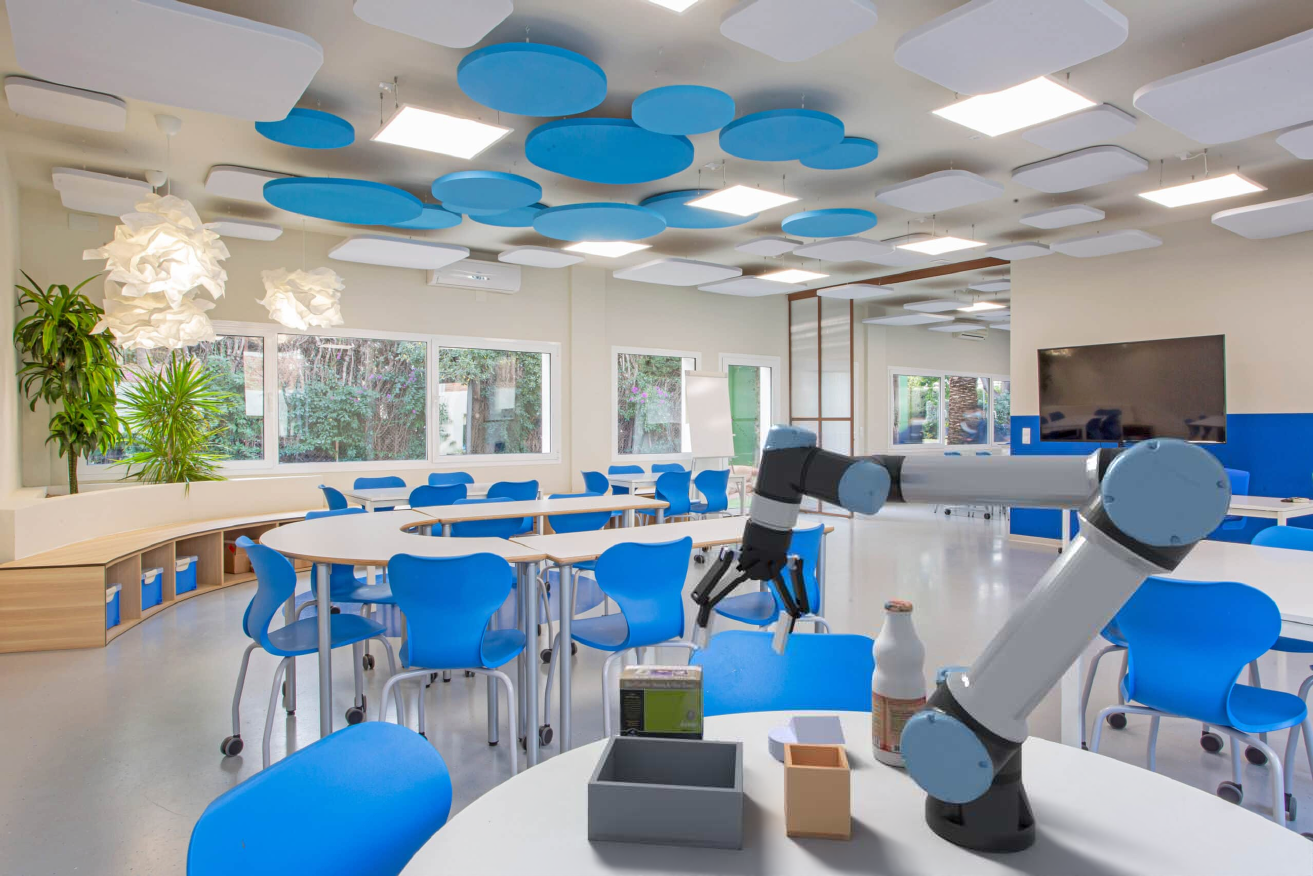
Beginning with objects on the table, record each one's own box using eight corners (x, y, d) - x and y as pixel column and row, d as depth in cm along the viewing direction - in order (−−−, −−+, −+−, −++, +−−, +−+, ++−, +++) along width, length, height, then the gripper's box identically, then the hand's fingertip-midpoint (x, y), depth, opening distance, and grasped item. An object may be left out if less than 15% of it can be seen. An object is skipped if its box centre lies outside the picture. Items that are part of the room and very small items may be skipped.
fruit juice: (861, 755, 138) (860, 602, 138) (893, 743, 143) (892, 596, 144) (905, 773, 130) (904, 611, 130) (937, 760, 136) (936, 604, 136)
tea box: (704, 741, 144) (704, 664, 145) (702, 763, 134) (702, 680, 135) (626, 738, 146) (626, 661, 146) (618, 759, 136) (618, 677, 136)
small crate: (842, 810, 117) (842, 745, 117) (850, 840, 108) (850, 770, 108) (784, 806, 118) (784, 742, 118) (786, 836, 109) (786, 767, 109)
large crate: (742, 791, 123) (742, 742, 123) (741, 849, 106) (741, 792, 106) (610, 783, 126) (610, 735, 126) (587, 839, 108) (587, 783, 108)
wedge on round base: (832, 743, 144) (764, 743, 143) (832, 707, 144) (764, 708, 143) (845, 763, 135) (773, 763, 134) (845, 725, 135) (773, 725, 134)
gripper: (826, 524, 126) (796, 642, 129) (689, 506, 117) (661, 633, 120) (850, 539, 119) (818, 663, 122) (707, 521, 110) (676, 655, 113)
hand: (740, 648), depth 121 cm, fingers open, 13 cm apart
